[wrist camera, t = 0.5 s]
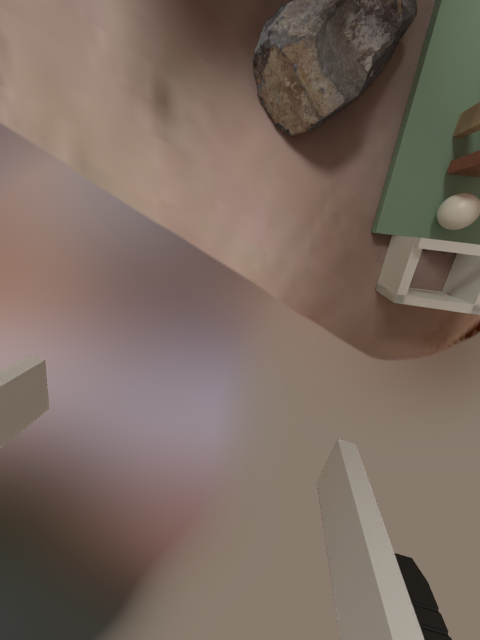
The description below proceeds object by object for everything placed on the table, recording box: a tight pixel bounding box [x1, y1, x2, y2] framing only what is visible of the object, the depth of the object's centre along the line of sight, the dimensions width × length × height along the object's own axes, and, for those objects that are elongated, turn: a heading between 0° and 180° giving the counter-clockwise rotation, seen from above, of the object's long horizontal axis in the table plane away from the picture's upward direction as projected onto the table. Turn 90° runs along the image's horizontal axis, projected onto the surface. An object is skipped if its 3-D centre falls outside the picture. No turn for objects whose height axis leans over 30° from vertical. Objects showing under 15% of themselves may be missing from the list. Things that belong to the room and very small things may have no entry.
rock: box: [253, 0, 417, 136], centre depth 25 cm, size 14×11×5 cm
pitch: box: [371, 0, 480, 245], centre depth 27 cm, size 22×14×2 cm, turn 173°
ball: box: [437, 193, 480, 230], centre depth 28 cm, size 4×4×4 cm
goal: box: [375, 235, 480, 315], centre depth 30 cm, size 7×9×7 cm
